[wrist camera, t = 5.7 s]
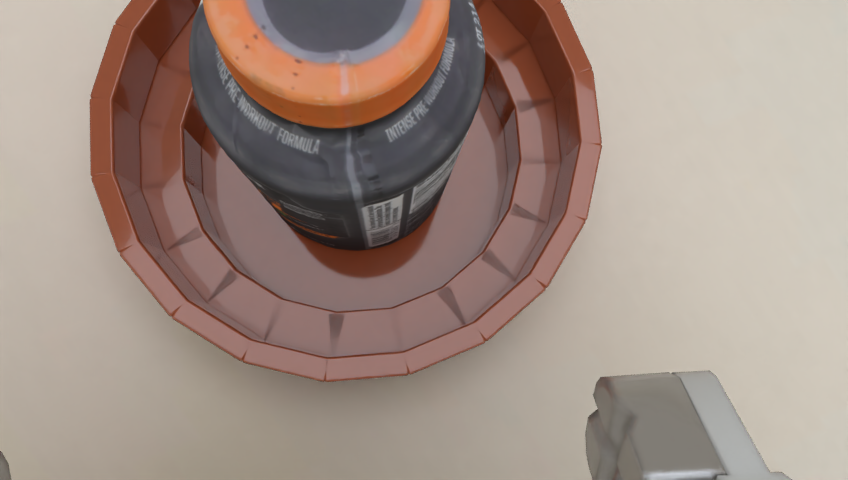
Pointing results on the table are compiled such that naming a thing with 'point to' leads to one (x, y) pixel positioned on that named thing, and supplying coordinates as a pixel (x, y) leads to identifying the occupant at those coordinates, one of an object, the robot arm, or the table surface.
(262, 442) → the table surface
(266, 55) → the pill bottle
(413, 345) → the bowl
